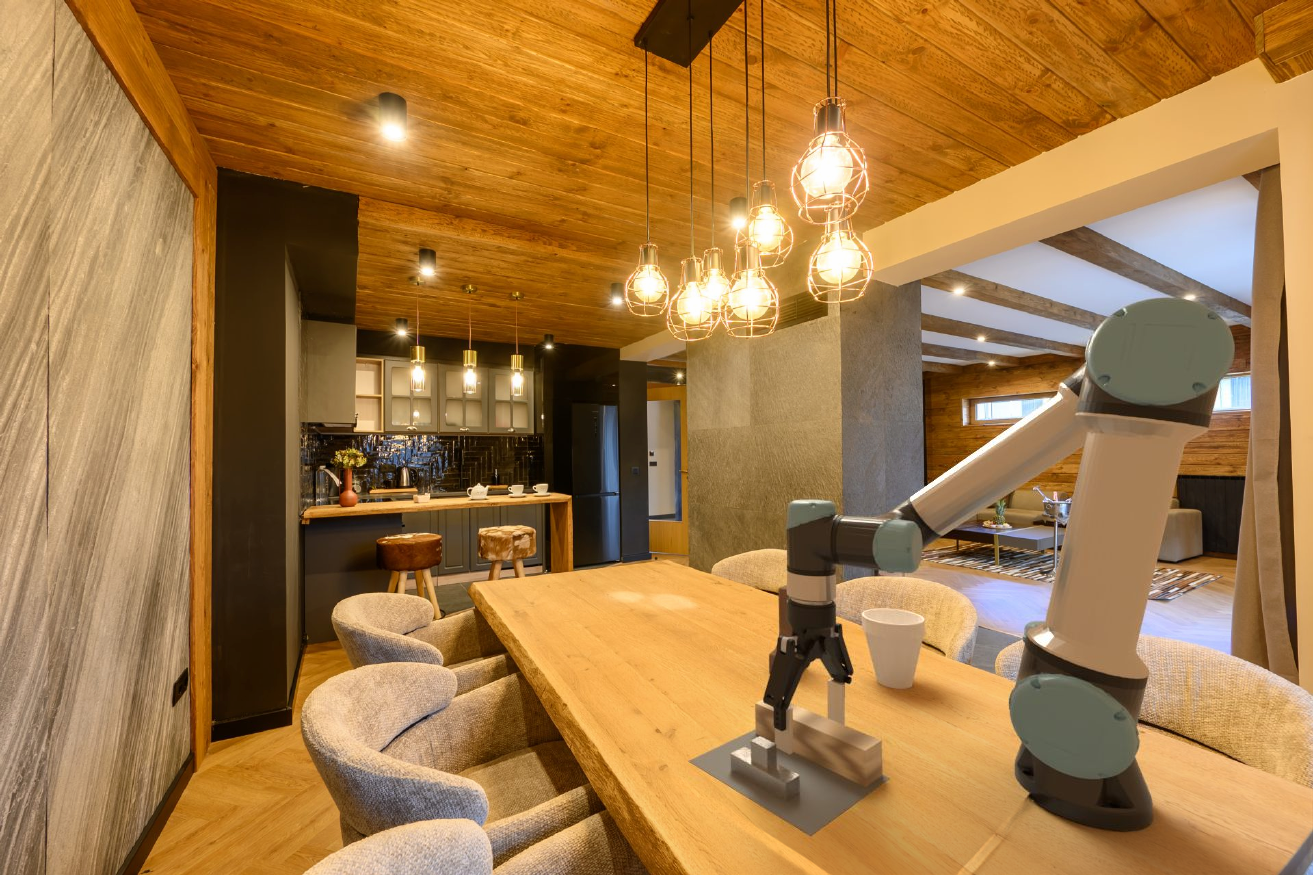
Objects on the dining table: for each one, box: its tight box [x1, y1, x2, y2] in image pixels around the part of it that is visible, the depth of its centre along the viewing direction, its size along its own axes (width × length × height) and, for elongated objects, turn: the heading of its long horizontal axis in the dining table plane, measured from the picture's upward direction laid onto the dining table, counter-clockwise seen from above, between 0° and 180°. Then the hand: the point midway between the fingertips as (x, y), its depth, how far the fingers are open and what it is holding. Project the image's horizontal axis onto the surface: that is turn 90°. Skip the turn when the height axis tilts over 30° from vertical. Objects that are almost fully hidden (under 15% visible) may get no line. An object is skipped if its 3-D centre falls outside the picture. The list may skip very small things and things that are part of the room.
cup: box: [861, 607, 927, 690], centre depth 116 cm, size 12×12×14 cm
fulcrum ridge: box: [731, 736, 800, 802], centre depth 79 cm, size 10×3×6 cm, turn 39°
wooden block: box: [768, 584, 799, 675], centre depth 123 cm, size 9×4×18 cm, turn 138°
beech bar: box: [754, 699, 884, 787], centre depth 87 cm, size 20×4×5 cm, turn 39°
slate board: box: [688, 728, 891, 837], centre depth 82 cm, size 22×19×1 cm
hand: (811, 735), depth 87 cm, fingers open, 13 cm apart
